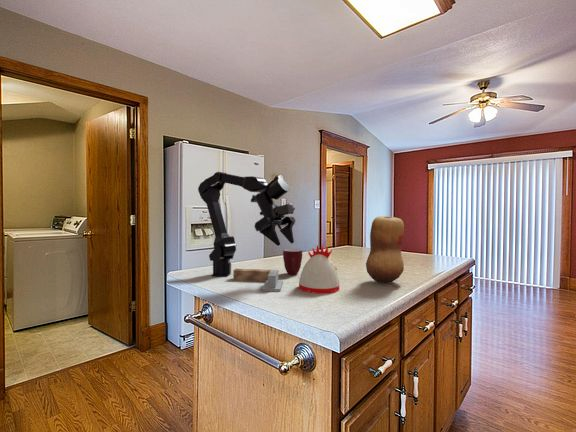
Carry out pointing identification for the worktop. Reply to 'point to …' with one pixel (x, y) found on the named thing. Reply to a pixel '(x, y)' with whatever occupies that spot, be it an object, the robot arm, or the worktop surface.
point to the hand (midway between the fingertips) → (286, 244)
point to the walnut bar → (251, 274)
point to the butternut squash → (385, 249)
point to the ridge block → (273, 282)
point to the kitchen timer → (319, 273)
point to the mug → (292, 260)
